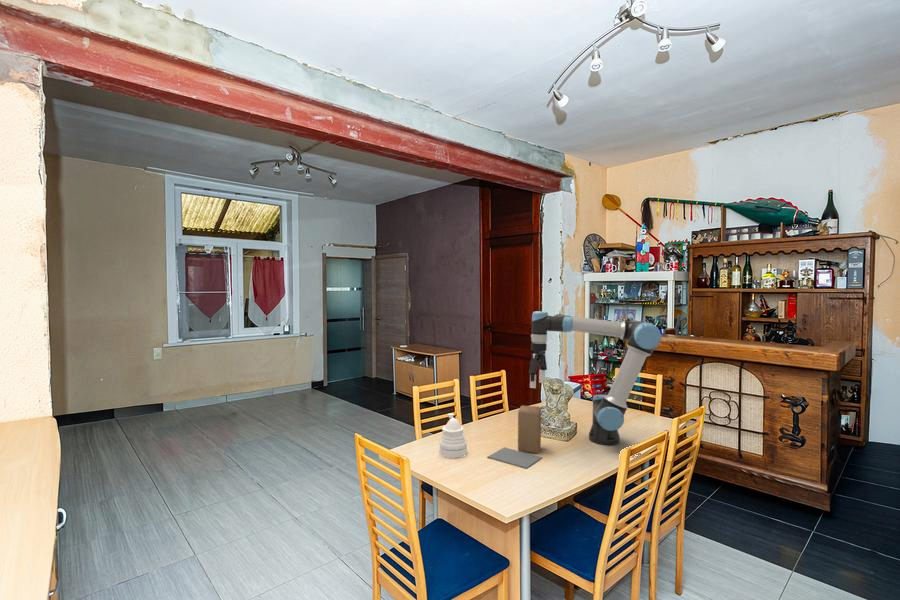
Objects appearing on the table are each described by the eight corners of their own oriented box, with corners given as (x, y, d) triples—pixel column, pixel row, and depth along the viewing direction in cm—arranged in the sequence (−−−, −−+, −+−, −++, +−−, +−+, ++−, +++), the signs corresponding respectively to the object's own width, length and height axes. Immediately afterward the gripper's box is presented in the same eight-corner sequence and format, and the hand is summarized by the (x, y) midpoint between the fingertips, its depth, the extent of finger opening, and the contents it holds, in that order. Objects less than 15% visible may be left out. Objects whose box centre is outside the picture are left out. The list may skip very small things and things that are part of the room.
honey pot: (434, 452, 210) (434, 414, 210) (454, 446, 219) (454, 409, 218) (451, 460, 200) (451, 420, 200) (472, 453, 209) (472, 415, 208)
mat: (542, 458, 203) (542, 457, 203) (526, 468, 191) (526, 467, 191) (504, 448, 215) (504, 447, 215) (487, 457, 204) (487, 456, 204)
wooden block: (540, 446, 218) (541, 406, 217) (539, 454, 208) (539, 411, 208) (520, 444, 221) (520, 404, 220) (517, 452, 211) (517, 410, 210)
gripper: (539, 339, 232) (538, 379, 233) (522, 344, 210) (521, 388, 211) (553, 340, 228) (552, 381, 229) (538, 346, 207) (536, 391, 207)
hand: (537, 385), depth 220 cm, fingers open, 13 cm apart
